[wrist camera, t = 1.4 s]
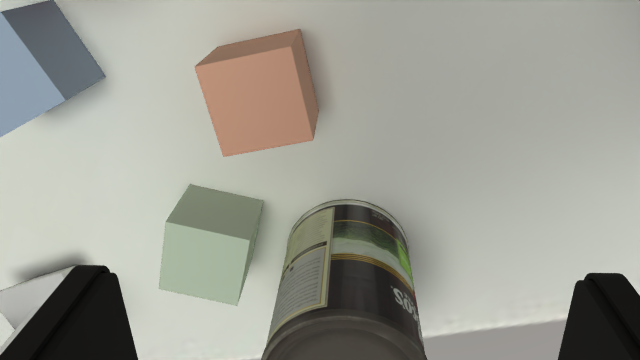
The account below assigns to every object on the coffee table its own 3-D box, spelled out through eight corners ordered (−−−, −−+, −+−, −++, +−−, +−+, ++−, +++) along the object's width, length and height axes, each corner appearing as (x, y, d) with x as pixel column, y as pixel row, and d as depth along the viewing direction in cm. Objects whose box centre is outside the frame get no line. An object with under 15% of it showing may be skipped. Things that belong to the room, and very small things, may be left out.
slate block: (53, -1, 36) (0, 11, 30) (106, 76, 38) (65, 100, 32) (-10, 39, 37) (-72, 57, 32) (44, 110, 39) (-5, 139, 34)
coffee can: (398, 187, 40) (419, 306, 28) (416, 292, 45) (441, 436, 32) (271, 209, 42) (236, 330, 29) (301, 308, 46) (281, 451, 33)
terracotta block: (300, 28, 36) (290, 46, 30) (318, 110, 38) (313, 140, 33) (217, 46, 36) (194, 66, 31) (241, 125, 39) (223, 156, 34)
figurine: (3, 272, 46) (-140, 413, 33) (92, 243, 44) (-22, 381, 31) (48, 331, 49) (-67, 483, 36) (134, 307, 47) (46, 458, 34)
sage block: (263, 200, 42) (249, 240, 36) (251, 259, 44) (237, 305, 39) (190, 183, 41) (165, 221, 36) (182, 244, 44) (158, 289, 39)
